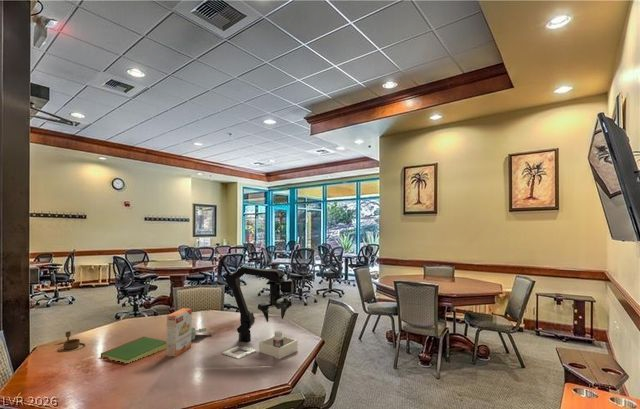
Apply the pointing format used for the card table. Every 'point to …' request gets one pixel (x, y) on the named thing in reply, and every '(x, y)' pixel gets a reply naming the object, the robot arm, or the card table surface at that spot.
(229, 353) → the socket block
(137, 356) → the hardcover book
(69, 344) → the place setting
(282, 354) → the bin
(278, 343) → the pill bottle
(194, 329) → the metal bracket
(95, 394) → the card table surface
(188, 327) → the cracker box
